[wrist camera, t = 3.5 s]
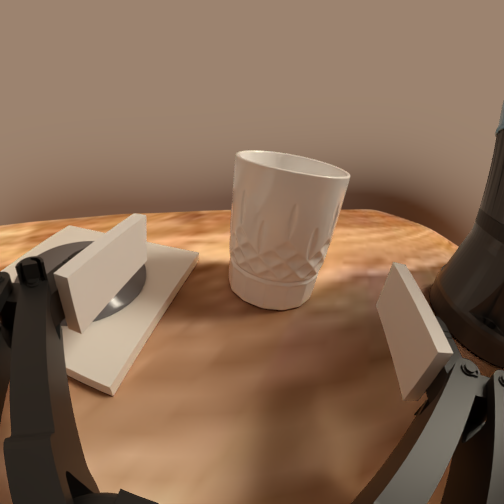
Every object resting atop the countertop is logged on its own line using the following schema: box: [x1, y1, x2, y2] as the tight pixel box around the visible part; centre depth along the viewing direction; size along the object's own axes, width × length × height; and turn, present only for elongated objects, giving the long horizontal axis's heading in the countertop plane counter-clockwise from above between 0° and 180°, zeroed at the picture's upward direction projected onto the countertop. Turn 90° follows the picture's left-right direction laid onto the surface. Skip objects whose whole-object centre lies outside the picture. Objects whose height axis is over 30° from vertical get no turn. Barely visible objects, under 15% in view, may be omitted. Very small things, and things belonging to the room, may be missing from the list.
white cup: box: [229, 150, 350, 310], centre depth 21 cm, size 8×8×10 cm
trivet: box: [1, 225, 199, 396], centre depth 19 cm, size 15×15×1 cm
